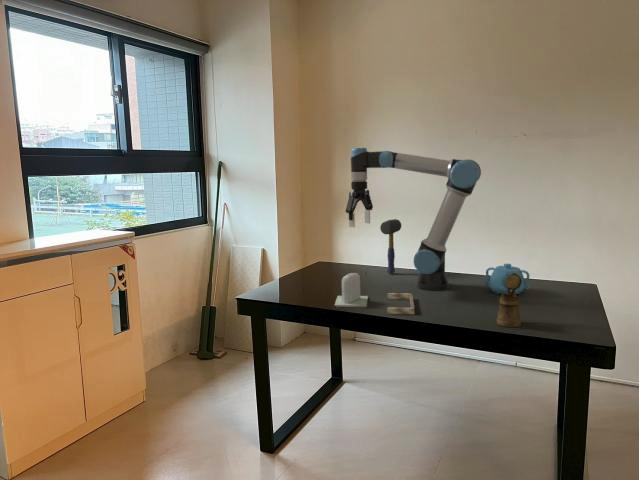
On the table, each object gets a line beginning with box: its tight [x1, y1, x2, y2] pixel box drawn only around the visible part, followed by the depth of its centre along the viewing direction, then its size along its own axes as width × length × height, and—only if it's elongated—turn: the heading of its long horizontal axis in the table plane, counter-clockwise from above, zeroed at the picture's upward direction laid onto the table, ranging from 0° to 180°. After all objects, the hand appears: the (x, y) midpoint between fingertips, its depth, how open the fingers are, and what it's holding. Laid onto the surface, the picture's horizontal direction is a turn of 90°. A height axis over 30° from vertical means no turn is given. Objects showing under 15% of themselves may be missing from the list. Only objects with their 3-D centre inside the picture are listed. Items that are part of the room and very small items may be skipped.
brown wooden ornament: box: [496, 273, 522, 328], centre depth 189 cm, size 9×14×18 cm, turn 148°
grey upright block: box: [341, 272, 361, 303], centre depth 221 cm, size 10×4×12 cm, turn 140°
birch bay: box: [386, 292, 415, 315], centre depth 214 cm, size 11×22×2 cm, turn 172°
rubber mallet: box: [379, 218, 402, 275], centre depth 268 cm, size 12×8×30 cm, turn 143°
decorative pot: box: [484, 263, 531, 295], centre depth 229 cm, size 16×16×14 cm
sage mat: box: [334, 295, 369, 308], centre depth 222 cm, size 14×14×1 cm
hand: (359, 225), depth 238 cm, fingers open, 13 cm apart
